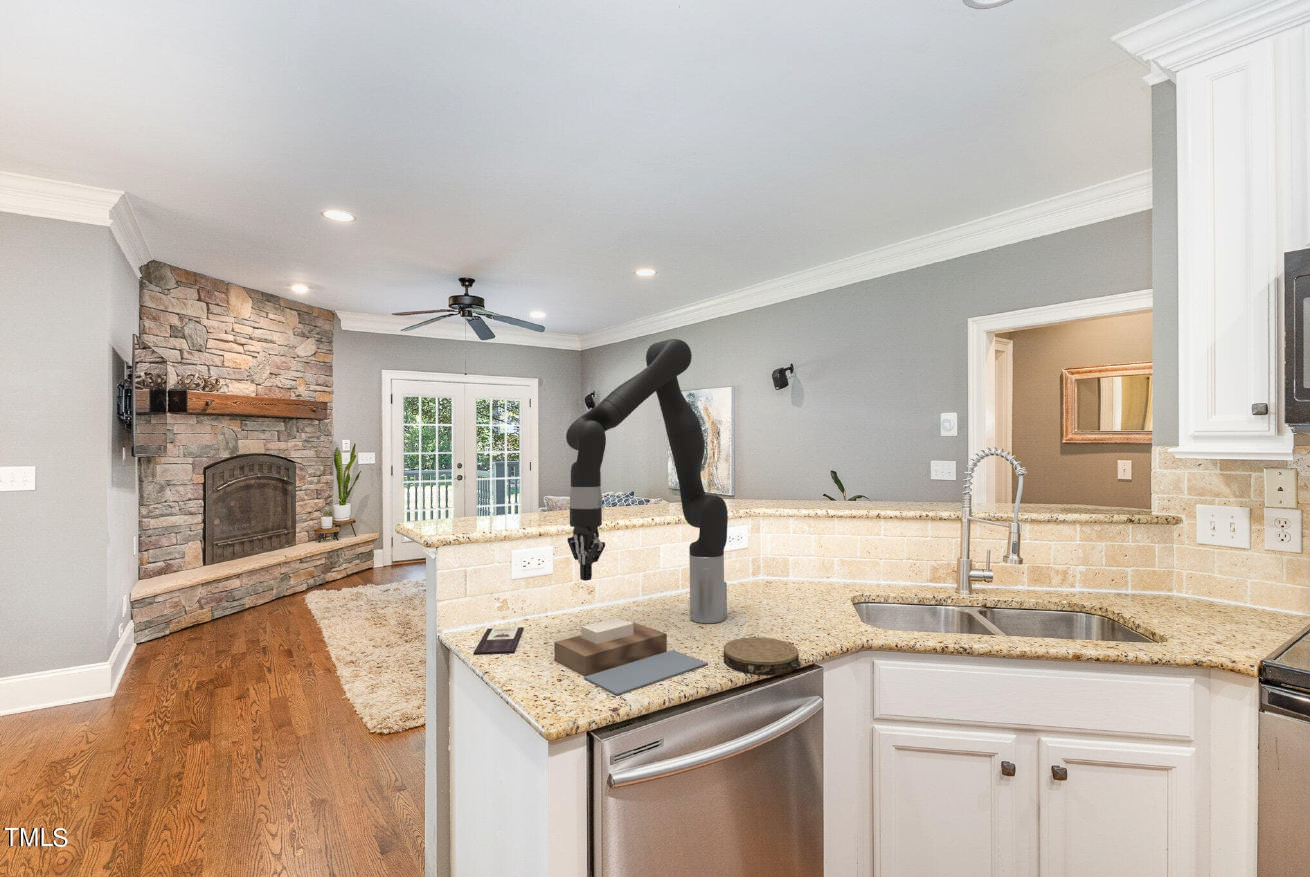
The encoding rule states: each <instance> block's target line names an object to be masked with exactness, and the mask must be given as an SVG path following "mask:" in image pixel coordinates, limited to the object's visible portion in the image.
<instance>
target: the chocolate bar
mask: <svg viewBox="0 0 1310 877" xmlns="http://www.w3.org/2000/svg"><path fill="white" fill-rule="evenodd" d="M524 629H525V627H524V626H523V627H521V626H520V627H519V626H518V627H498V628H497V627H492V628H487V629H486V630H485V632H484V634H483V636H482V637H481V639H480V641H479V642H478V644H477V646H476V648H475V649H474V651H473V656H481V655H482V656H485V655H487V656H488V655H509V654H515V652H516V649H517V648H518V645H519V643H520V640H521V638H522V634H523V632H524Z"/></svg>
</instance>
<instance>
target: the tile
mask: <svg viewBox="0 0 1310 877" xmlns="http://www.w3.org/2000/svg"><path fill="white" fill-rule="evenodd" d="M580 630H581V632H580V634H581V638H583V639H585V640H588V641H590V642H592V643H595V644H600V643H604V642H608V641H612V640H615V639H619V638H623V637H627V636H630V635H633V622H630V621H627V620H625V619H622V618H619V617H615V618H611V619H607V620H603V621H599V622H594V623H591V624H585V625H582V626H581V627H580Z"/></svg>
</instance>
